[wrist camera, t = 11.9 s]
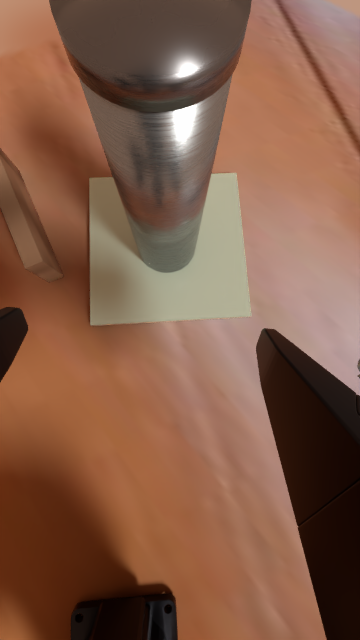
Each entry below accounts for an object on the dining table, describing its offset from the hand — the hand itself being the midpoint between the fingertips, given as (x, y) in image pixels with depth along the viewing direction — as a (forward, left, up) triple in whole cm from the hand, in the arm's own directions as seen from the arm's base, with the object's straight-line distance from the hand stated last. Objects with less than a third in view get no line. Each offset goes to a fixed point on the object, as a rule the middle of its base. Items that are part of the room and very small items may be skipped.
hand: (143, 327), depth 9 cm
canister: (+7, -1, -8) cm, 11 cm away
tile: (+7, -1, -9) cm, 12 cm away
